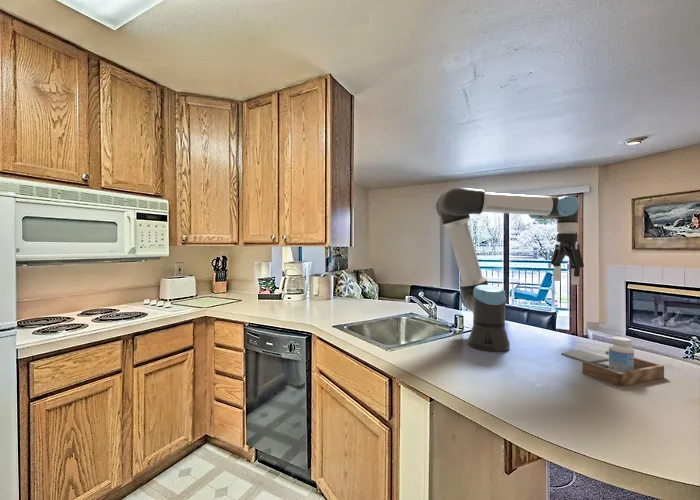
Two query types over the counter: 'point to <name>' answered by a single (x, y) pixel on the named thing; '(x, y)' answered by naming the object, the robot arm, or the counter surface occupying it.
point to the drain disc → (602, 365)
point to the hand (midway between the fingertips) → (565, 282)
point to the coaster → (585, 356)
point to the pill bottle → (621, 355)
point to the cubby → (626, 372)
